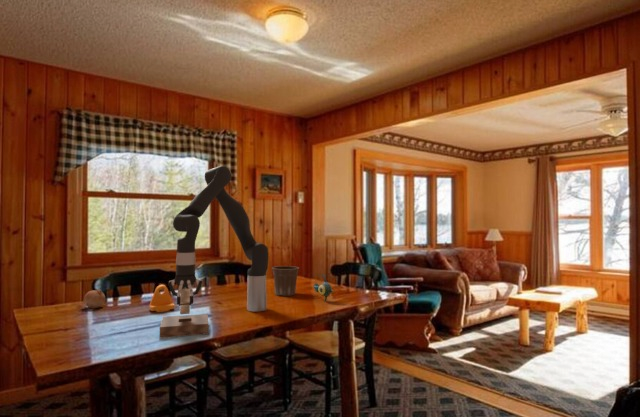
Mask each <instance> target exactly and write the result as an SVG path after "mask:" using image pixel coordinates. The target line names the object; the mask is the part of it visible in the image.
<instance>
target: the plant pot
mask: <svg viewBox="0 0 640 417" xmlns="http://www.w3.org/2000/svg"><path fill="white" fill-rule="evenodd" d="M271 269H272V274H273V282H274V283H273V284H274V285H273V287H274V295H275V296H279V297H280V296H283V297H292V296H294V295H296V290H297V289H296V288H297V279H298V274H299V269H300V267H298V266H293V265H291V266H290V265H277V266H276V265H275V266H273V267H271Z"/></svg>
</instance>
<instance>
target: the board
mask: <svg viewBox="0 0 640 417" xmlns="http://www.w3.org/2000/svg"><path fill="white" fill-rule="evenodd" d="M195 335H209V316H208V313H202V314H183V315H173V316H172V315H171V316H163V317H162V319H161V323H160V325H159V338H172V337H173V338H174V337H183V336H184V337H185V336H195Z"/></svg>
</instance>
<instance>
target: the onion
mask: <svg viewBox="0 0 640 417" xmlns="http://www.w3.org/2000/svg"><path fill="white" fill-rule="evenodd" d="M105 301H106V296H105V293H104V292H103V291H102V290H101V289H95V290H89V291H88V292H86V293H85V295H84V297H83V303H84V305H85V306H86V307H87V308H89V309H99V308H101V307H102V306H103V305H104V303H105Z"/></svg>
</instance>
